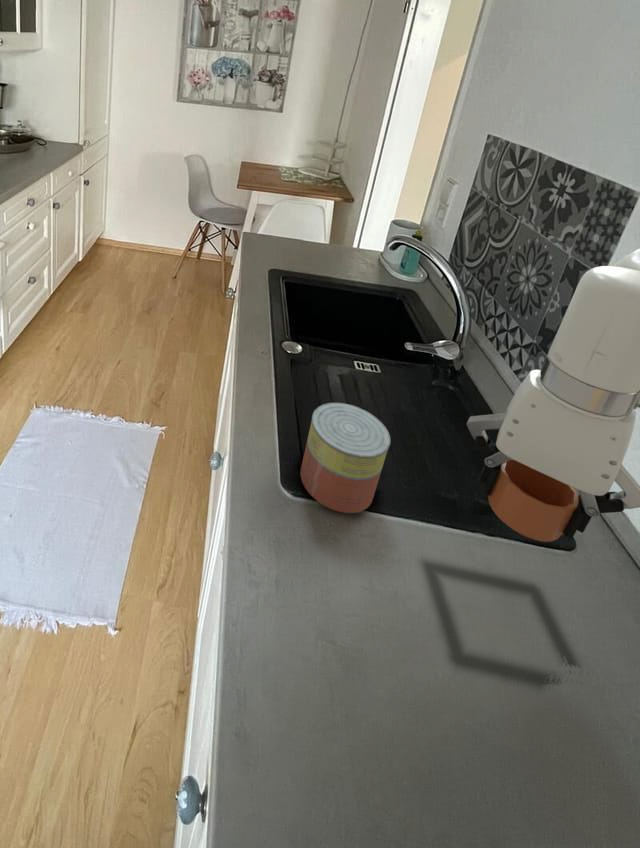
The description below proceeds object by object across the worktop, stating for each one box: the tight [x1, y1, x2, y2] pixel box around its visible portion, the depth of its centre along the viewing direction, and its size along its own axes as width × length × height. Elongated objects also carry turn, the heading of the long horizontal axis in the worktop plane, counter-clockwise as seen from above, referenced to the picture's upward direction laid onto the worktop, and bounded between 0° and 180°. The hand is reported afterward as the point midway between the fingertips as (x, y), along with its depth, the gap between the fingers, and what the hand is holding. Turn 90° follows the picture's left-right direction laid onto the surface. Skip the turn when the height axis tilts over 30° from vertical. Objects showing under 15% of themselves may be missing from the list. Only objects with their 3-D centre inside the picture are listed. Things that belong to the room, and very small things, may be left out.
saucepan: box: [487, 459, 580, 543], centre depth 60 cm, size 13×7×5 cm, turn 140°
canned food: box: [299, 402, 392, 514], centre depth 78 cm, size 11×11×12 cm
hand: (526, 507), depth 58 cm, fingers closed on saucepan, 7 cm apart
